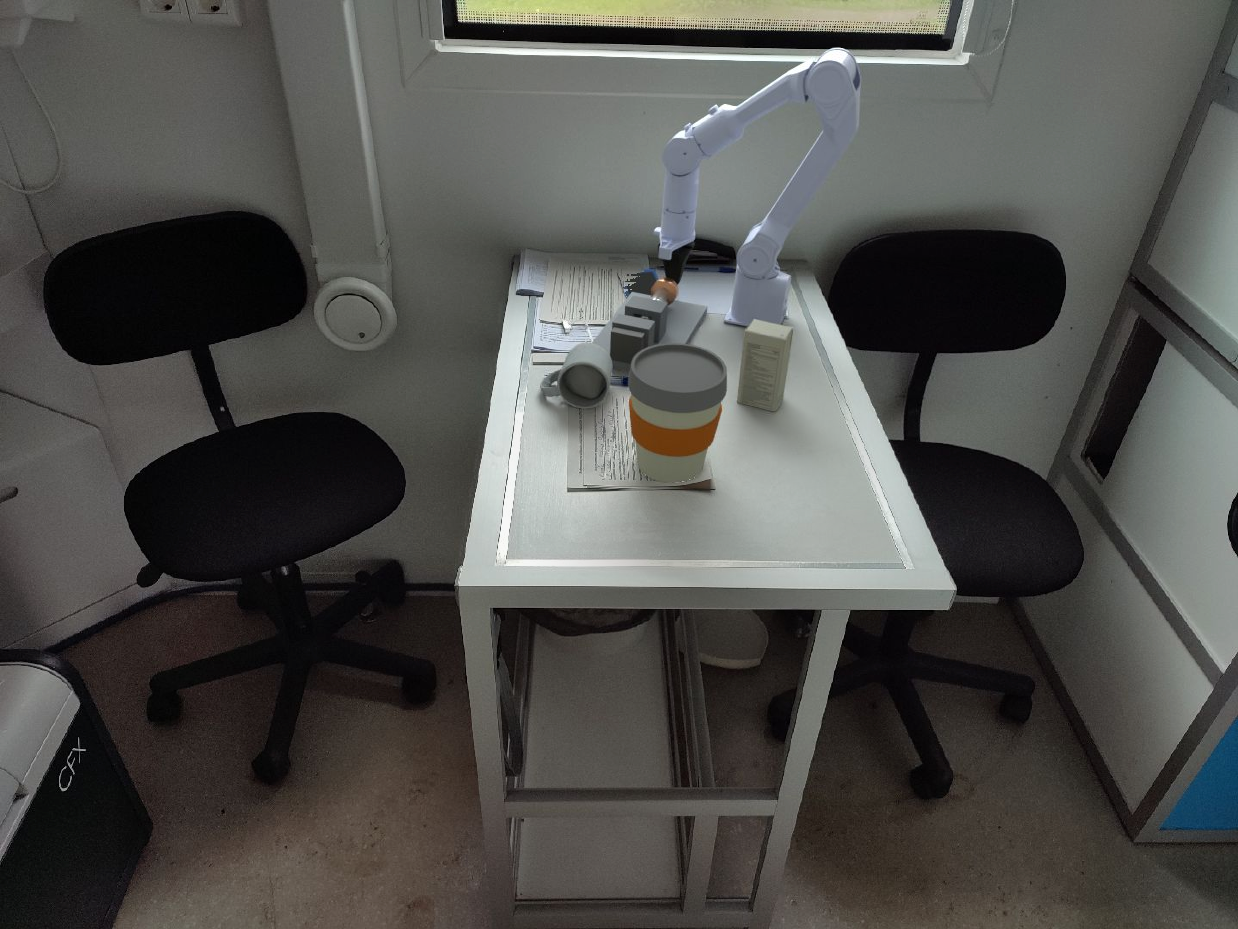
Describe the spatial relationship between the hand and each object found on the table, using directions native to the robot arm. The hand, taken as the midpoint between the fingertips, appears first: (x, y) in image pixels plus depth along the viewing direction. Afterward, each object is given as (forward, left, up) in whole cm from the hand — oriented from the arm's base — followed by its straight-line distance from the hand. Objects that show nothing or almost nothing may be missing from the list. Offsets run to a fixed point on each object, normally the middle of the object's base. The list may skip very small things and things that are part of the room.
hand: (673, 282), depth 152 cm
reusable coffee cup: (-14, +46, -4) cm, 48 cm away
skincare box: (-22, +26, -4) cm, 34 cm away
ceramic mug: (+4, +35, -4) cm, 36 cm away
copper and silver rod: (0, +11, -2) cm, 11 cm away
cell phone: (+7, -4, -4) cm, 9 cm away
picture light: (+12, +15, -5) cm, 20 cm away
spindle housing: (0, +14, -4) cm, 14 cm away
